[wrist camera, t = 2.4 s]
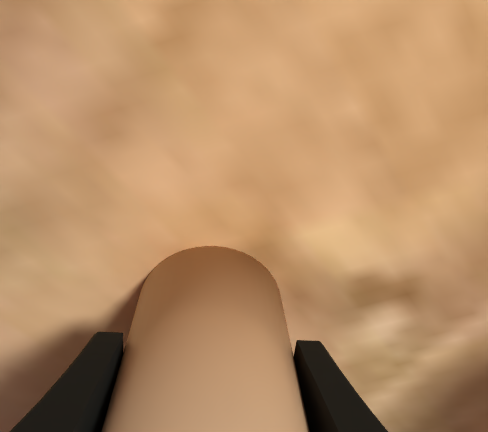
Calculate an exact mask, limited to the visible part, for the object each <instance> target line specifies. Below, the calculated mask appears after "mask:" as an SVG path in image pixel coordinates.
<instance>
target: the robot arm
mask: <svg viewBox="0 0 488 432" xmlns="http://www.w3.org/2000/svg"><path fill="white" fill-rule="evenodd" d="M122 357H123V333H113V332H97V333H96V334H95V335H94V336H93V337H92V338H91V340H90V341H89V342H88V344H87V345H86V346H85V348H84V349H83V350H82V352H81V353H80V354H79V355H78V357H77V358H76V359H75V360H74V362H73V363H72V364H71V365H70V366H69V368H68V369H67V370H66V371H65V373H64V374H63V375H62V376H61V377H60V378H59V379H58V381H57V382H56V383H55V384H54V385H53V386H52V387H51V389H50V390H49V391H48V392H47V393H46V394H45V395H44V397H43V398H42V399H41V400H40V401H39V402H38V403H37V404H36V405H35V406H34V407H33V408H32V409H31V410H30V411H29V412H28V413H27V415H26V416H25V417H24V418H23V419H22V420H21V421H20V422H19V423H18V424H17V425H16V426H15V427H14V428H13V429H12V430H11V431H10V432H101V431H102V428H103V424H104V421H105V417H106V414H107V410H108V406H109V403H110V399H111V396H112V392H113V389H114V385H115V382H116V378H117V374H118V371H119V367H120V364H121V360H122ZM294 361H295V366H296V371H297V375H298V380H299V385H300V389H301V394H302V399H303V403H304V408H305V413H306V417H307V422H308V427H309V431H310V432H388V431H387V430H386V429H385V427H384V426H383V425H382V424H381V423H380V421H379V420H378V419H377V418H376V416H375V415H374V414H373V413H372V411H371V410H370V409H369V408H368V406H367V405H366V404H365V402H364V401H363V400H362V399H361V397H360V396H359V395H358V393H357V392H356V391H355V389H354V388H353V387H352V385H351V384H350V383H349V381H348V380H347V379H346V377H345V376H344V374H343V373H342V372H341V370H340V369H339V367H338V366H337V365H336V363H335V362H334V360H333V359H332V357H331V356H330V354H329V353H328V352H327V350H326V349H325V347H324V346H323V344H322V343H321V342H320V341H304V340H297V342H296V347H295V352H294Z"/></svg>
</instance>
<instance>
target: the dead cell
mask: <svg viewBox="0 0 488 432" xmlns="http://www.w3.org/2000/svg"><path fill="white" fill-rule="evenodd" d="M101 432H310V431H309V427H308V422H307V417H306V413H305V408H304V403H303V399H302V394H301V389H300V385H299V380H298V375H297V371H296V366H295V361H294V357H293V352H292V347H291V343H290V338H289V333H288V329H287V324H286V320H285V315H284V310H283V306H282V301H281V296H280V292H279V288H278V286H277V283H276V281H275V279H274V278H273V276H272V275H271V273H270V272H269V271H268V270H267V269H266V268H265V267H264V266H263V265H262V264H261V263H260V262H259V261H257V260H256V259H254V258H253V257H251V256H249V255H247V254H245V253H243V252H240V251H237V250H234V249H230V248H226V247H217V246H204V247H195V248H191V249H187V250H184V251H181V252H178V253H176V254H174V255H172V256H170V257H168V258H167V259H165V260H164V261H162V262H161V263H160V264H158V265H157V266H156V267H155V268H154V269H153V270H152V272H151V273H150V274H149V275H148V277H147V279H146V280H145V282H144V284H143V287H142V289H141V292H140V296H139V300H138V303H137V307H136V310H135V314H134V317H133V321H132V324H131V328H130V332H129V335H128V339H127V342H126V346H125V349H124V353H123V357H122V360H121V364H120V367H119V371H118V374H117V378H116V382H115V385H114V389H113V392H112V396H111V399H110V403H109V406H108V410H107V414H106V417H105V421H104V424H103V428H102V431H101Z"/></svg>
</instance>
